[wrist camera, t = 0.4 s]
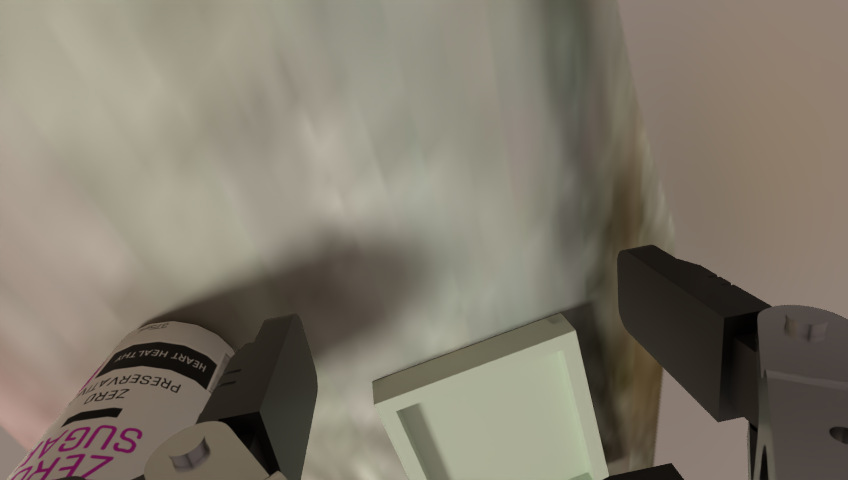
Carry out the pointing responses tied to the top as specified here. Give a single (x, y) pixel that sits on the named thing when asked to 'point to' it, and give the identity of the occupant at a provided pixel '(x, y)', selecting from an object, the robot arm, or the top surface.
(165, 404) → the supplement can
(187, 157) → the top surface
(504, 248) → the top surface
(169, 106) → the top surface
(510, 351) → the tray
